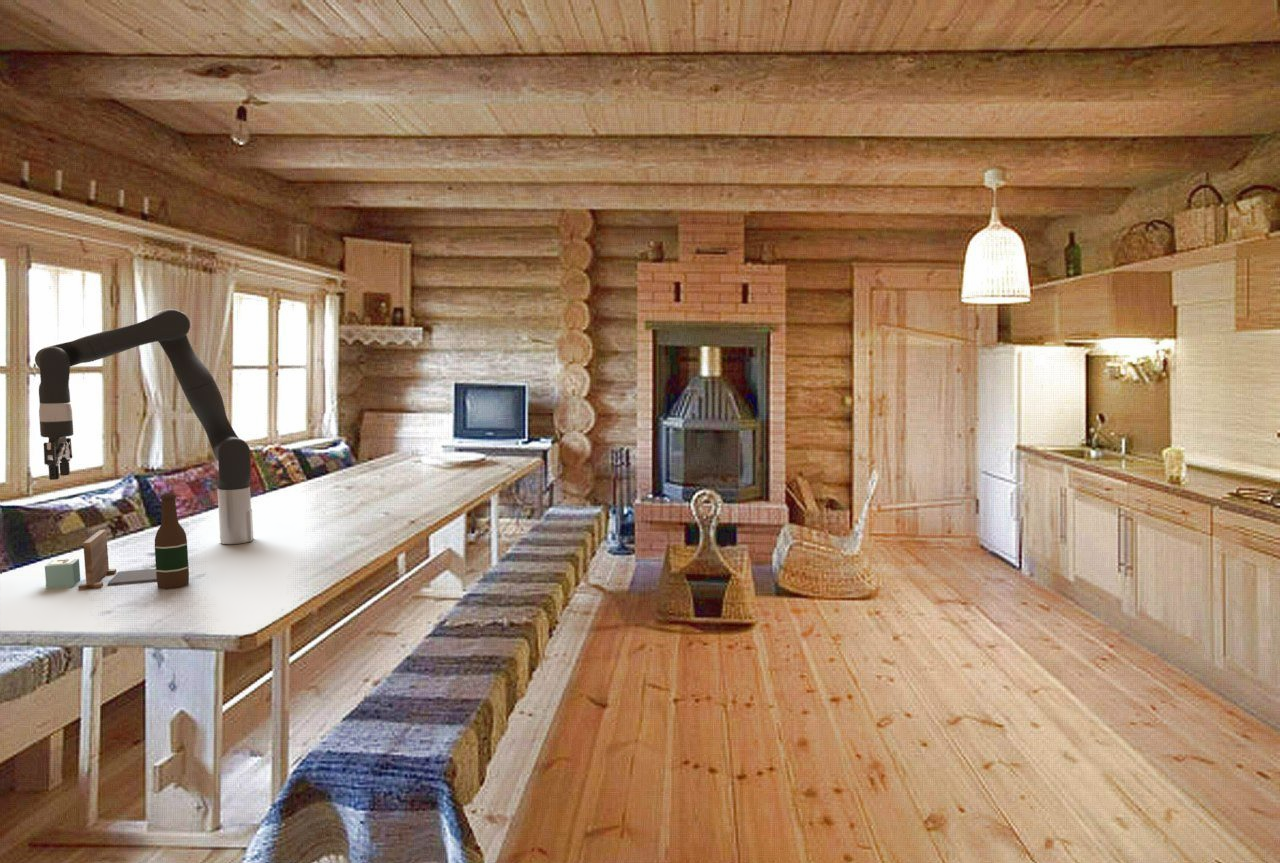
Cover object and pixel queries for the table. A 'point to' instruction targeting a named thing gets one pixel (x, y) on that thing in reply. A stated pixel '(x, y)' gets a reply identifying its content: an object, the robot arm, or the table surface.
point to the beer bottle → (171, 548)
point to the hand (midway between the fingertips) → (59, 477)
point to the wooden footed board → (96, 561)
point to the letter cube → (62, 573)
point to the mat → (134, 577)
